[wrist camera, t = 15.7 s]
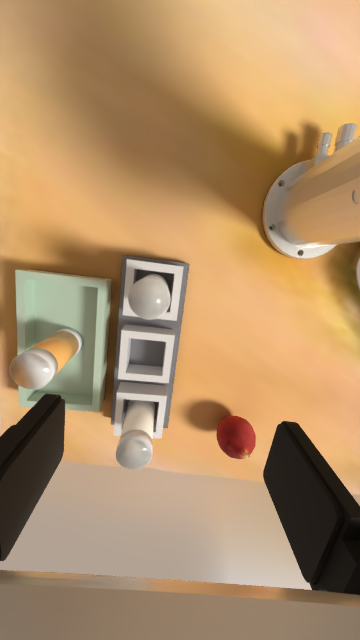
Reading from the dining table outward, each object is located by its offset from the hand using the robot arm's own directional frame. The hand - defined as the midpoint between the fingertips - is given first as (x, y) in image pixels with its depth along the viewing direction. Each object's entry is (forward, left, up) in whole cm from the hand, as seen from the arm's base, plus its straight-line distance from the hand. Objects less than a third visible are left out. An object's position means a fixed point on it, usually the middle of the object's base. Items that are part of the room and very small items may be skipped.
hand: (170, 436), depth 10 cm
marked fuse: (+5, -13, -25) cm, 29 cm away
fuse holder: (+5, -2, -26) cm, 26 cm away
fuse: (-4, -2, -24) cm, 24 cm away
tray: (+5, -14, -26) cm, 29 cm away
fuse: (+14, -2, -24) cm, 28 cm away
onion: (+17, +13, -26) cm, 34 cm away
